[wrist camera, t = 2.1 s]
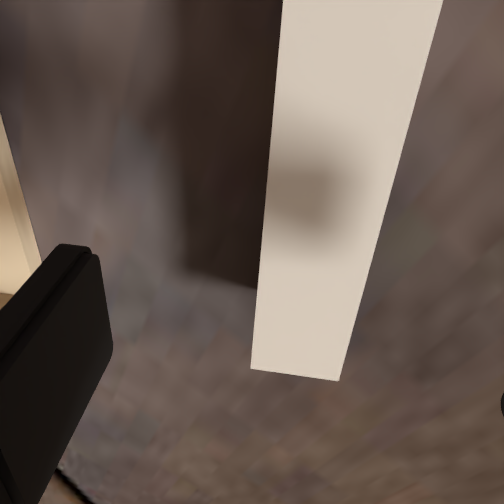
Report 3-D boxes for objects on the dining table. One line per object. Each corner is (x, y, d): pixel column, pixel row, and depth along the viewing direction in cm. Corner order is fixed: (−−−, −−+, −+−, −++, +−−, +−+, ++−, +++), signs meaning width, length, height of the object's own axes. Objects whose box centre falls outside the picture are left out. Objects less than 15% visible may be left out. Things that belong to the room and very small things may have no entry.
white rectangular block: (307, -148, 12) (300, -189, 8) (435, -141, 12) (492, -179, 8) (264, 288, 22) (250, 368, 18) (335, 297, 21) (338, 381, 17)
